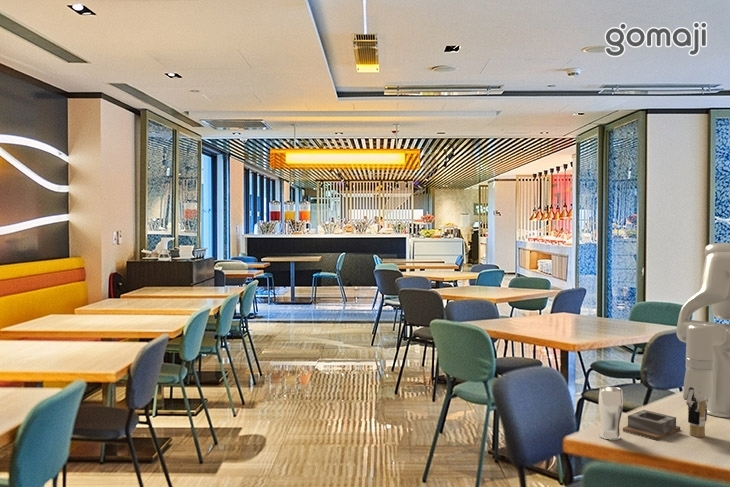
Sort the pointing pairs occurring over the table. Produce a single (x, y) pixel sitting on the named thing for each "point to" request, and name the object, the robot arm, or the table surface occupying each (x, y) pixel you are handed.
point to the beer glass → (610, 412)
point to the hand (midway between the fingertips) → (697, 421)
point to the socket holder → (651, 424)
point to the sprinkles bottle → (700, 429)
